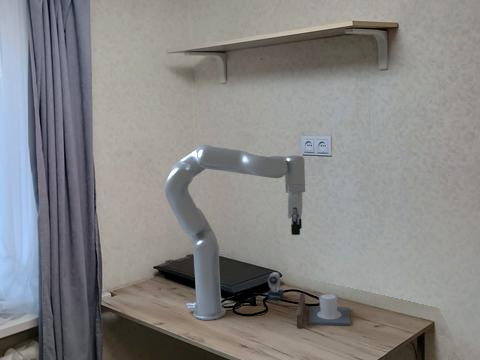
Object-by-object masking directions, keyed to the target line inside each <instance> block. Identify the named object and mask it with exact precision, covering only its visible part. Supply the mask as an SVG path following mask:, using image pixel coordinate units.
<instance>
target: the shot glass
mask: <svg viewBox="0 0 480 360" xmlns="http://www.w3.org/2000/svg"><path fill="white" fill-rule="evenodd" d="M318 300H319V307H320V309H321V315H322V316H323V317H334V316H336V314H337V307H338V295H336V294H334V293H323V294H320V295H319V296H318Z"/></svg>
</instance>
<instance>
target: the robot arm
mask: <svg viewBox="0 0 480 360" xmlns="http://www.w3.org/2000/svg"><path fill="white" fill-rule="evenodd" d="M305 162H306V161H305V158H304V156H302V155H289V156H281V155H271V156H264V155H258V154H254V153H249V152H247V151H243V150H240V149H232V148H225V147H218V146H212V145H209V144H202V145H200V146H199V147H198V148H196V149H195V150H194V151H192V152H191V153H189V154H188V155H186V156H185V157H183V158H182V159H180V160H179V161H177V162H176V163H175V164H174V165H173V166H172V168H171V171H170V173H169V175H168V177H167V178H166V180H165V185H164V193H165V197H166V200H167V202H168V203H169V206H170V208H171V210H172V212H173V214H174V215H175V218H176V219H177V222H178V224H179V226H180V228H181V229H182V231H183V232H185V233H186V234H187V236H188V238H189V240H190V242H191V243H192V252H193V265H194V266H193V267H194V279H195V280H194V281H195V282H194V283H195V284H194V285H195V298H196V299H195V300H196V301H194V302H186V308H187V310H193V311H192V315H193V317H194V318H196V319H197V320H203V321H211V320H217V319H221V318H222V317H224V316H225V315H226V314H227V313H226V311H227V310H226V309H225V308H226V307H225V308H224V307H223V306H222V295H221V276H220V248H219V242H218V239H217V237H216V234H215V232H214V230H213V229H212V227H211V225H210V223H209V222H208V219H207V218H206V216H205V214H204V213H203V211H202V210H201V209H200V208H199V207H197V205H196V204H195V202H194V200H193V198H192V195H191V194H190V192H189V187H190V185H191V183H192V182H193V179H194V178H195V177H196V176H198V175H199V174H201V173H202V172H204V171H205V170H206V169H207V170H213V171H223V172H228V173H229V172H230V173H236V174H241V175H250V176H257V177H263V178H269V179H281V178H283V177H284V182H285V183H284V185H285V187H284V188H285V193H287V194H288V195H287V209H288V212H287V213H288V214H287V217H288V219H291V224H290V227H291V228H290V229H291V230H290V231H291V236H299V235H301V230H302V228H303V225H302V214H303V194H304V193H305V192H306V174H305V173H306V171H305V169H306V168H305V166H306V165H305Z"/></svg>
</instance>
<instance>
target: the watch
mask: <svg viewBox="0 0 480 360" xmlns="http://www.w3.org/2000/svg"><path fill="white" fill-rule="evenodd" d="M281 282H282V280H281V276H280V272H277V271H276V272H275V271H272V273H270V275H269V277H268V278H267V283H268V286H269V288H270V289H269V290H268V292H267V300H268V301H277V302H279V300H282V301H283V299H284V297H285V295H284V293H285V292H284V289H280V286H281Z"/></svg>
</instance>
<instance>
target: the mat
mask: <svg viewBox="0 0 480 360" xmlns="http://www.w3.org/2000/svg"><path fill="white" fill-rule="evenodd" d="M307 325H308V326H336V327H338V326H339V327H340V326H342V327H344V326H345V327H351V311H350V307H349V306H347V307H343V306H341V307H338V306H337V314H336V316H334V317H323V316H322V315H321V309H320V306H309V312H308V322H307Z"/></svg>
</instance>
